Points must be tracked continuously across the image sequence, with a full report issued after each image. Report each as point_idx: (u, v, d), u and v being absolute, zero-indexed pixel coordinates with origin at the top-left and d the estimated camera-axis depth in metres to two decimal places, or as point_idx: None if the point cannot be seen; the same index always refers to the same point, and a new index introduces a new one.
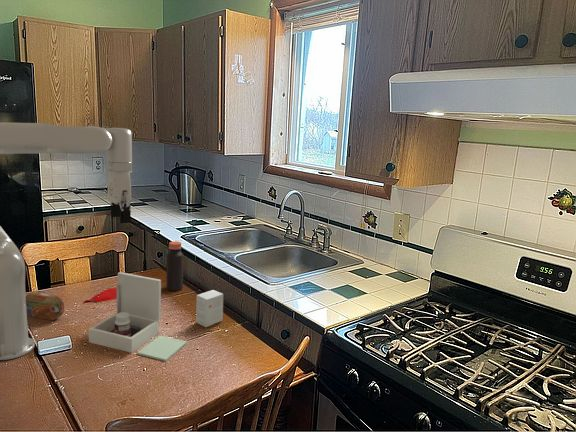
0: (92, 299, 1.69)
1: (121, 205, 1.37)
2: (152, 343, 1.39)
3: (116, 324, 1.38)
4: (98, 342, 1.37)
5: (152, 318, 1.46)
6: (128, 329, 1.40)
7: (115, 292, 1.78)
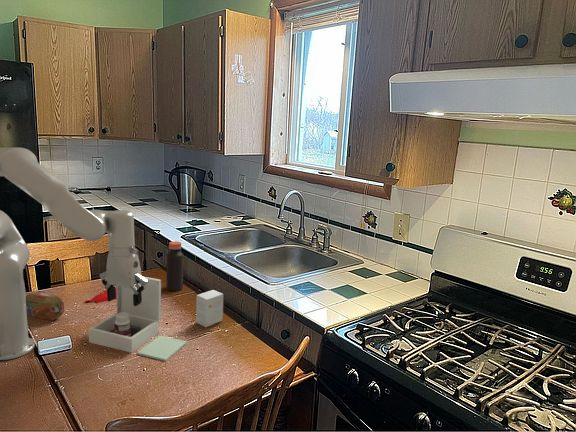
0: (93, 299, 1.69)
1: None
2: (152, 343, 1.39)
3: (116, 324, 1.38)
4: (98, 342, 1.37)
5: (152, 318, 1.46)
6: (128, 329, 1.40)
7: (116, 292, 1.77)
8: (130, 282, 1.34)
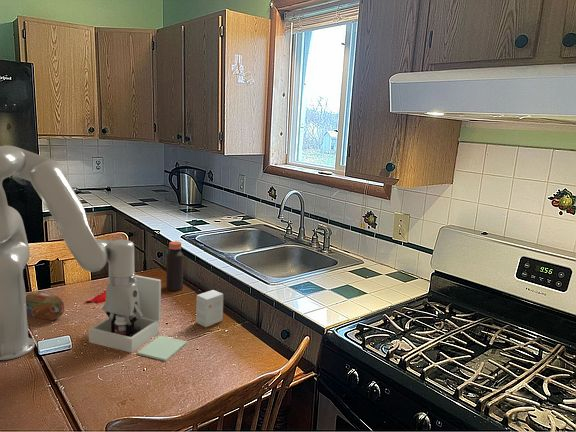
0: (93, 300, 1.69)
1: None
2: (152, 343, 1.39)
3: (116, 324, 1.38)
4: (98, 342, 1.37)
5: (152, 318, 1.46)
6: None
7: None
8: (129, 311, 1.36)
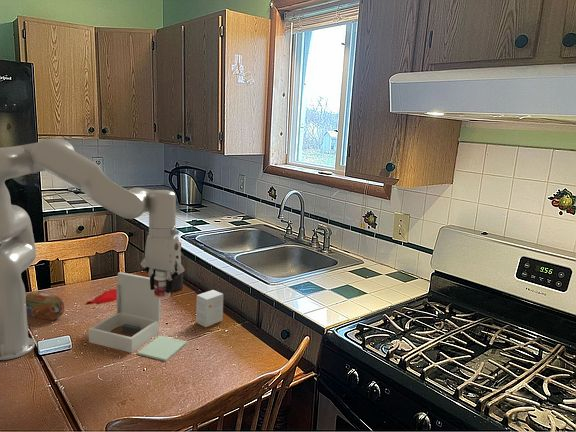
0: (94, 300, 1.69)
1: (153, 268, 1.35)
2: (152, 343, 1.39)
3: (156, 279, 1.31)
4: (98, 342, 1.37)
5: (152, 318, 1.46)
6: None
7: None
8: (170, 265, 1.28)
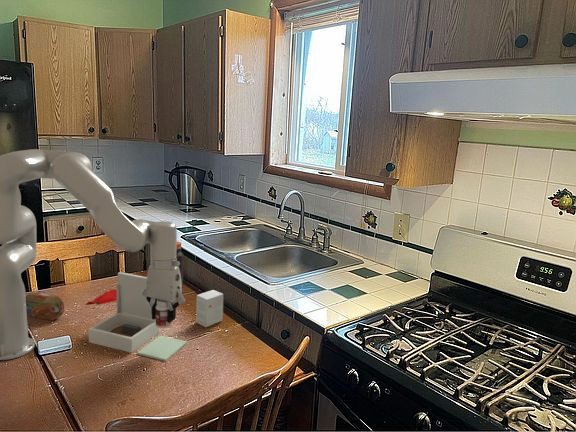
0: (95, 301, 1.68)
1: None
2: (152, 343, 1.39)
3: (157, 309, 1.33)
4: (98, 342, 1.37)
5: None
6: None
7: None
8: (171, 296, 1.30)
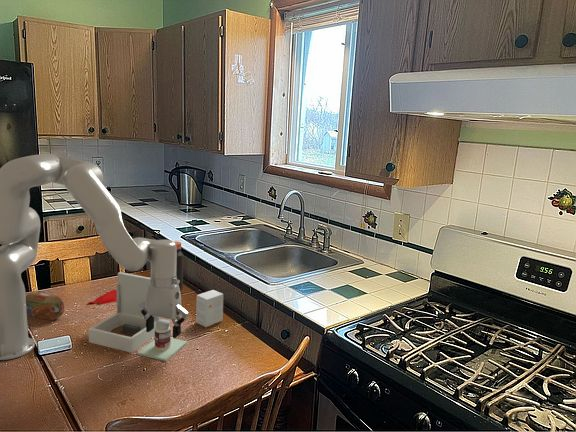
0: (95, 301, 1.68)
1: None
2: (152, 343, 1.39)
3: (157, 332, 1.34)
4: (98, 342, 1.37)
5: None
6: (169, 337, 1.36)
7: None
8: (171, 314, 1.31)
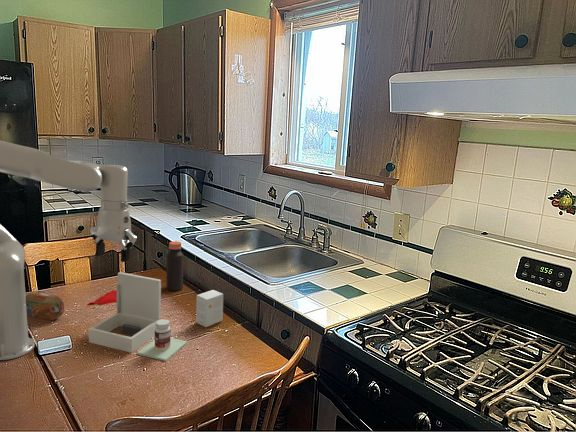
0: (96, 301, 1.68)
1: None
2: (152, 343, 1.39)
3: (156, 332, 1.34)
4: (98, 342, 1.37)
5: (152, 318, 1.46)
6: (168, 337, 1.36)
7: None
8: (119, 237, 1.34)
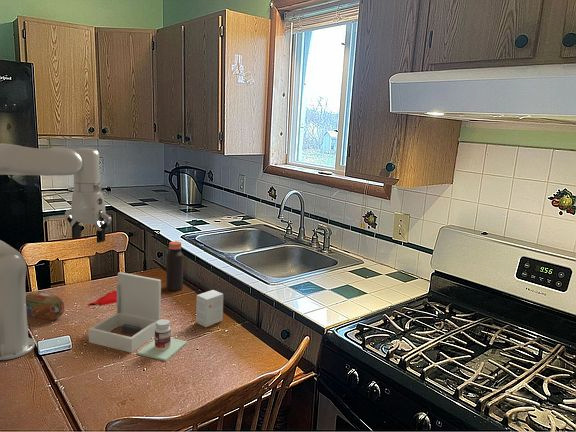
0: (97, 302, 1.67)
1: None
2: (152, 343, 1.39)
3: (157, 331, 1.34)
4: (98, 342, 1.37)
5: (152, 318, 1.46)
6: (169, 337, 1.36)
7: None
8: (94, 218, 1.38)
